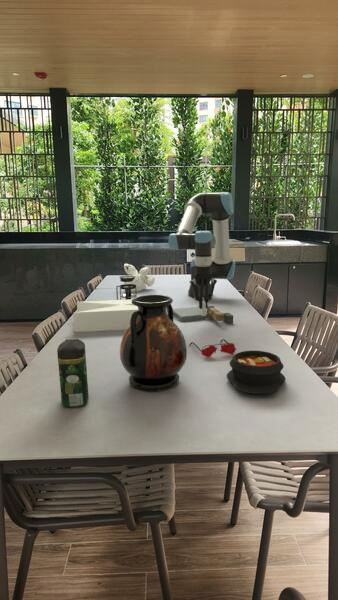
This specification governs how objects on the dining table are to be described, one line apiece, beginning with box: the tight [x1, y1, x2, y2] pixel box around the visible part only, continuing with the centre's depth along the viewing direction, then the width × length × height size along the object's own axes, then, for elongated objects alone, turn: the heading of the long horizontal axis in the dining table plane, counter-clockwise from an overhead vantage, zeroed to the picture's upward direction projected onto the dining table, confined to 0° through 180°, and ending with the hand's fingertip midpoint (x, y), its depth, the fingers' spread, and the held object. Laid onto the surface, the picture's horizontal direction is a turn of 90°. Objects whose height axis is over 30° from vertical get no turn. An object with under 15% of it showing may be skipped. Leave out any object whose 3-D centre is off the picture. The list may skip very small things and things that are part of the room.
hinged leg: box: [207, 305, 224, 322], centre depth 212 cm, size 18×4×3 cm, turn 12°
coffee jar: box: [56, 338, 89, 409], centre depth 129 cm, size 10×8×19 cm
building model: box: [72, 298, 168, 333], centre depth 213 cm, size 45×22×10 cm, turn 97°
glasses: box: [188, 338, 237, 358], centre depth 174 cm, size 14×16×5 cm
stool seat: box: [173, 306, 214, 322], centre depth 223 cm, size 18×16×2 cm
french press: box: [115, 264, 138, 300], centre depth 242 cm, size 12×9×23 cm
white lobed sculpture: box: [123, 263, 156, 293], centre depth 290 cm, size 19×20×20 cm
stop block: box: [222, 312, 234, 325], centre depth 211 cm, size 3×6×4 cm, turn 17°
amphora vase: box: [119, 294, 188, 392], centre depth 141 cm, size 22×22×28 cm
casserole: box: [226, 350, 287, 395], centre depth 142 cm, size 25×19×8 cm
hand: (203, 315), depth 207 cm, fingers closed
